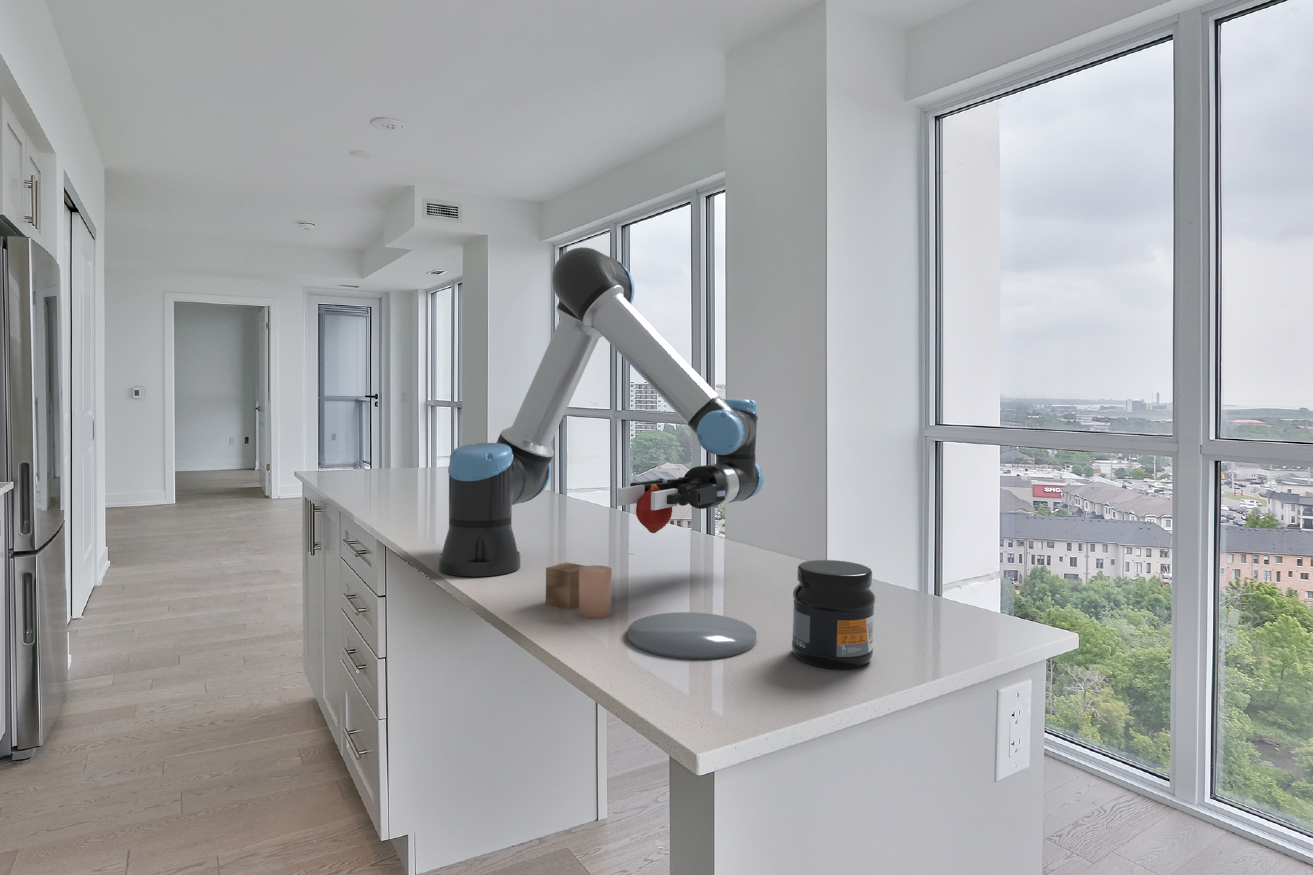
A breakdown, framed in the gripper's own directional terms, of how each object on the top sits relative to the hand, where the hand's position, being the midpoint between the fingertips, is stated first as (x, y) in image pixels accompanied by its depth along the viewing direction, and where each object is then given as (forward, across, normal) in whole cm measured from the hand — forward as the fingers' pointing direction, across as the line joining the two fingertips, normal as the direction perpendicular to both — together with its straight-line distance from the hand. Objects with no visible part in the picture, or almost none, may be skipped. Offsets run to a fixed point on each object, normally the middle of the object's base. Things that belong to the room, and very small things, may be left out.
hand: (636, 499), depth 123 cm
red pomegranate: (-5, 0, -6) cm, 8 cm away
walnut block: (+3, +11, -18) cm, 21 cm away
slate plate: (+6, -14, -18) cm, 23 cm away
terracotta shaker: (+5, +4, -18) cm, 19 cm away
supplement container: (+2, -33, -18) cm, 38 cm away
